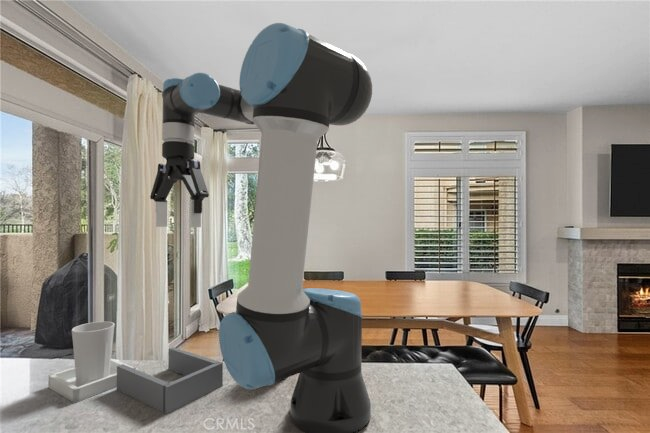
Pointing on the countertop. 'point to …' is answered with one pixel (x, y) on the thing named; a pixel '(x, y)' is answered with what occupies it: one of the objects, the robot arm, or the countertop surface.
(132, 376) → the box
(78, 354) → the cup
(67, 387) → the tray
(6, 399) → the countertop surface
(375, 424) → the countertop surface
